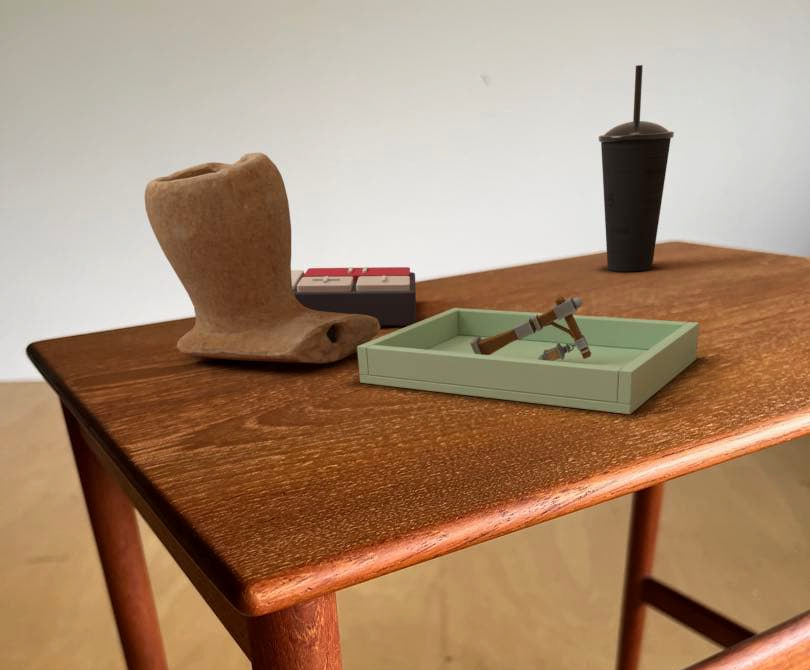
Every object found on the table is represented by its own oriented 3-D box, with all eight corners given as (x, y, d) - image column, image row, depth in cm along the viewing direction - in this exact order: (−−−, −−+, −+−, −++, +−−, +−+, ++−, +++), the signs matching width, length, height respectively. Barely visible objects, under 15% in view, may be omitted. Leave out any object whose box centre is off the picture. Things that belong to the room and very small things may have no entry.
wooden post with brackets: (602, 353, 59) (575, 291, 58) (495, 398, 62) (468, 340, 61) (604, 347, 61) (578, 286, 59) (499, 391, 64) (473, 334, 63)
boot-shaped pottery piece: (141, 371, 69) (101, 163, 62) (242, 337, 78) (216, 152, 71) (293, 389, 61) (266, 155, 55) (385, 349, 70) (371, 144, 64)
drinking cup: (628, 260, 103) (637, 67, 94) (679, 266, 97) (694, 61, 88) (580, 269, 99) (585, 69, 91) (630, 276, 93) (640, 63, 85)
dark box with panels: (415, 282, 76) (242, 284, 76) (415, 332, 78) (246, 334, 78) (415, 263, 86) (261, 265, 86) (415, 308, 88) (265, 309, 88)
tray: (696, 359, 62) (699, 322, 61) (629, 414, 52) (632, 371, 51) (455, 339, 72) (454, 307, 71) (359, 382, 62) (356, 346, 61)
